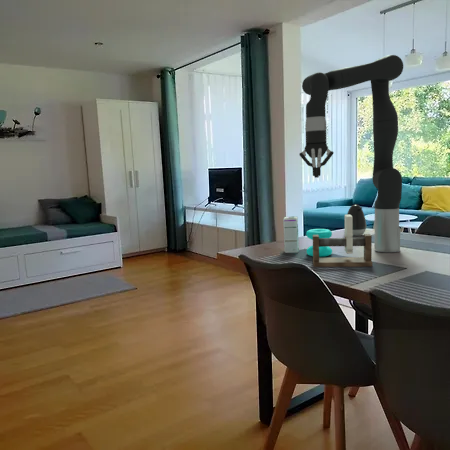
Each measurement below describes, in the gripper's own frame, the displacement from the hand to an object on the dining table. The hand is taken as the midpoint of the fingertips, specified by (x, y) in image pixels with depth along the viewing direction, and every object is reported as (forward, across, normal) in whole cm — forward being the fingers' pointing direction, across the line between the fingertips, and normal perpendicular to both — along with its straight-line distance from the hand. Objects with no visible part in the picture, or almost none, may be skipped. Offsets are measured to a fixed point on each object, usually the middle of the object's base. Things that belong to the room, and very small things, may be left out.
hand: (316, 177), depth 161 cm
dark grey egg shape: (+31, -21, -52) cm, 64 cm away
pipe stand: (+31, -8, +9) cm, 33 cm away
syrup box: (+31, +10, -14) cm, 36 cm away
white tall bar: (+26, -10, +9) cm, 30 cm away
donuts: (+31, -1, -7) cm, 32 cm away
